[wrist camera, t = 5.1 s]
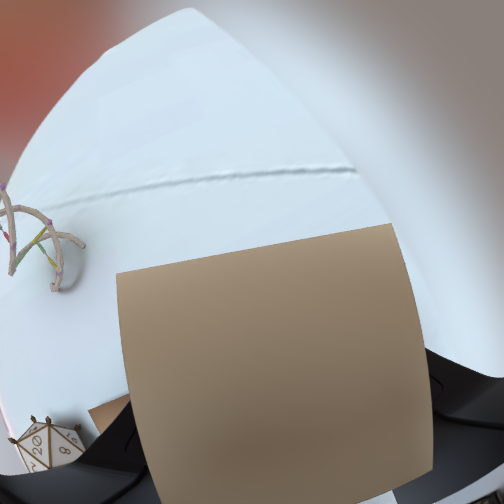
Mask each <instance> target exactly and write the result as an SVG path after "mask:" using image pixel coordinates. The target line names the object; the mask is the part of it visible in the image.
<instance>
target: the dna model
mask: <svg viewBox="0 0 504 504" xmlns="http://www.w3.org/2000/svg"><path fill="white" fill-rule="evenodd" d="M0 195H1V197H2V200H3V203H4V205H5V208H4V209H2V210H0V217H2V216H4V215H6V214H7V218H8V228H9V236H8V234H7V233H6V232H4V231H3V230H2V226H1V225H0V230H2V232H3V233H4V236H5V238H6V239H7V240H8V242H9V243H10V263H9V272H8V274H9V275H10V276H13V274H14V273H15V271H16V267H17V266H18V264H19V263H20V262H21V260H22V259H23V257H24V256H25V255H26V253H27V252H28V251H29V250H30V249H31V248H32V246H34V245H35V244H37V245H38V246H39V248H40V249H41V250H42V252H43V253H44V254H46V251H45V250H44V248H43V247H42V246H41V244H40V243H39V242H40V241H43V240H45V239H48V238H51V237H52V240H53V243H54V246H55V249H56V257H57V266H56V265H55V264H54V262H53V261H52V260H51V258H50V257H48V255H47V254H46V256H47V257H48V260H49V261H50V263H51V264H52V265H53V267H54V268H55V269H56V271H57V277H56V281H55V285H54V284H53V283H50V289H51V292H55V291H57V290H59V287H60V284H61V281H62V273H63V265H64V263H63V257H62V251H61V245H60V241H59V239H58V238H67V239H69V240H72V241H73V242H74V243H76V244H77V245H78V246H80V247H81V248H85V244H84V243H82V242H81V241H80V240H79V239H77V238H75V237H74V236H72V235H71V234H69V233H64V232H55V230H54V227H53V225H52V220H50V219H48V218H47V217H46V216H44V215H43V214H42V213H41V212H39V211H38V210H36V209H33V208H29V207H25V206H22V205H15V206H12V205H11V201H10V198H9V196H8V195H7V193H6V191H5V183H1V182H0ZM18 211H21V212H25V213H28V214H31V215H33V216H35V217H36V218H38V219H40V220H41V221H42V222H43V223H44V224H45V225H46V226H45V227H44V229H43V230H42V231H41V232H40V233H39V234H38V235H37V236H36V237H35V239H34V240H33V241H32V242H30V243H29V244H28V245H27V246H25V247H24V248H23V249H22V250H21V251H20V252H19V253H18V255H17V257H16V230H15V222H14V213H13V212H18ZM47 229H48V231H49V233H45V234H43V233H44V232H45V231H46V230H47ZM42 234H43V235H42Z"/></svg>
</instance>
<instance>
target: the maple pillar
mask: <svg viewBox="0 0 504 504" xmlns="http://www.w3.org/2000/svg"><path fill="white" fill-rule="evenodd" d="M116 284H117V302H118V315H119V326H120V336H121V344H122V352H123V359H124V366H125V372H126V378H127V384H128V389H129V394H130V399H131V404H132V408H133V413H134V417H135V421H136V425H137V429H138V433H139V437H140V441H141V444H142V448H143V451H144V454H145V458H146V461H147V464H148V467H149V470H150V473H151V476H152V479H153V482H154V484H155V487H156V490H157V492H158V495H159V498H160V500H161V503H162V504H357V503H360V502H363V501H365V500H368V499H371V498H373V497H376V496H378V495H381V494H383V493H386V492H388V491H390V490H393V489H395V488H397V487H399V486H402V485H404V484H406V483H408V482H410V481H412V480H414V479H416V478H418V477H420V476H422V475H423V474H425V473H427V472H429V471H431V470H432V469H433V417H432V402H431V390H430V381H429V373H428V365H427V358H426V352H425V346H424V340H423V335H422V330H421V325H420V320H419V315H418V311H417V307H416V302H415V298H414V294H413V290H412V287H411V283H410V279H409V276H408V272H407V269H406V265H405V262H404V259H403V256H402V253H401V249H400V246H399V243H398V240H397V237H396V235H395V232H394V229H393V226H392V223H389V224H384V225H378V226H373V227H367V228H362V229H356V230H351V231H345V232H340V233H334V234H329V235H323V236H318V237H312V238H307V239H301V240H296V241H290V242H285V243H279V244H274V245H268V246H263V247H257V248H252V249H247V250H241V251H236V252H230V253H225V254H220V255H214V256H209V257H204V258H198V259H193V260H187V261H182V262H177V263H171V264H166V265H161V266H155V267H150V268H145V269H139V270H134V271H129V272H124V273H118V274H116Z"/></svg>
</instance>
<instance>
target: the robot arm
mask: <svg viewBox="0 0 504 504" xmlns="http://www.w3.org/2000/svg"><path fill="white" fill-rule="evenodd" d="M425 352H426V358H427V365H428V373H429V381H430V390H431V402H432V417H433V469H432V470H431V471H429V472H427V473H425V474H423V475H422V476H420V477H418V478H416V479H414V480H412V481H410V482H408V483H406V484H404V485H402V486H399V487H397V488H395V489H393V490H392V491H393V494H394V496H395V499H396V501H397V504H433V503H435V504H504V377H503V378H495V377H490V376H486V375H483V374H481V373H479V372H476V371H474V370H471V369H469V368H466V367H464V366H462V365H460V364H457V363H455V362H453V361H451V360H448V359H446V358H444V357H442V356H440V355H438V354H436V353H434V352H432V351H430V350H429V349H427V348H425ZM0 504H162V503H161V500H160V498H159V495H158V492H157V490H156V487H155V484H154V482H153V479H152V476H151V473H150V470H149V467H148V464H147V461H146V458H145V454H144V451H143V448H142V444H141V441H140V437H139V433H138V429H137V425H136V421H135V417H134V413H133V408H132V404H131V400H129V401H128V403H127V404H126V405H125V407H124V408H123V409H122V411H121V412H120V413H119V414H118V416H117V417H116V418H115V419H114V420H113V422H112V423H111V424H110V425H109V426H108V427H107V428H106V429H105V430H104V432H103V433H102V434H101V435H100V436H99V437H98V438H97V439H96V440H95V441H94V442H93V443H92V444H91V445H90V446H89V447H88V448H87V449H86V450H85V451H84V452H83V453H82V454H81V455H80V456H79V457H78V458H77V459H76V460H74V461H73V462H71V463H69V464H67V465H65V466H61V467H57V468H53V469H48V470H43V471H38V472H33V473H27V474H20V475H12V476H7V475H1V474H0Z"/></svg>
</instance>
